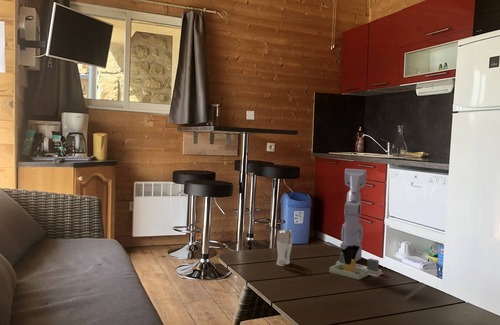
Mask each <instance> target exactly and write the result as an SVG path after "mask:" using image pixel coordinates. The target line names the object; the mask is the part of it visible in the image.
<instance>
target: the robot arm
mask: <svg viewBox="0 0 500 325" xmlns="http://www.w3.org/2000/svg"><path fill="white" fill-rule="evenodd" d="M367 172H368V171H367V169H358V168H345V169H344V184H345V186H347V187H348V188H349V190H348V192H346V193H347V194H346V199H345V200H346V202H345V203H344V208H343V210H344V212H343V213H344V223H343V224H342V226H341V233H340V236H341V238H340V240H341V241H342V242H341V243H340V247H339V248H340V249H341V253H342V252H343V255H344V260H345V264H348V265H350V264H351V260H352V259H354V260H355V262H358V261H359V260H361V259H362V253H363V252H362V251H363V245H362V242H363V238H364V227H363V225H362V224H361V223H360V216H361V215H362V214H361V210H362V203H361V202H362V201H361V196H362V195H361V192H360V190H361V188H364V187H366V184H367V174H368V173H367Z"/></svg>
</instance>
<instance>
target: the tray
mask: <svg viewBox="0 0 500 325" xmlns="http://www.w3.org/2000/svg"><path fill="white" fill-rule="evenodd" d="M343 268H344V264H341V263H339V264H337V265H336V264H335V265H332V266H329V269H328V270H329V273H331V274H335V275H338V276H342V277H345V278H350V279H354V280H361V279H363V278H365V277H367V276H369V274H368V272H369V270H366V269H362V268H357V267H355V273H352V272H348V271H344V270H343Z"/></svg>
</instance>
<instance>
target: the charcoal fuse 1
mask: <svg viewBox="0 0 500 325" xmlns="http://www.w3.org/2000/svg"><path fill="white" fill-rule="evenodd" d="M338 261H339V262H340V263H344V255H343V252H342V251H341V252H339V259H338Z"/></svg>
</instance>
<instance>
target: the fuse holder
mask: <svg viewBox="0 0 500 325" xmlns="http://www.w3.org/2000/svg"><path fill="white" fill-rule="evenodd" d="M339 263H340V262H339V260H337V261H335V265H337V264H339ZM341 264H344V263H341ZM355 267H357V268H362V269H366V270H369V269H367V265H362V264H359V263H355ZM383 274H384V272H382V269H379V268H378V271H373V270H369V272H368V276H369V275H370V276H373V277H380V276H381V275H383Z"/></svg>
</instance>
